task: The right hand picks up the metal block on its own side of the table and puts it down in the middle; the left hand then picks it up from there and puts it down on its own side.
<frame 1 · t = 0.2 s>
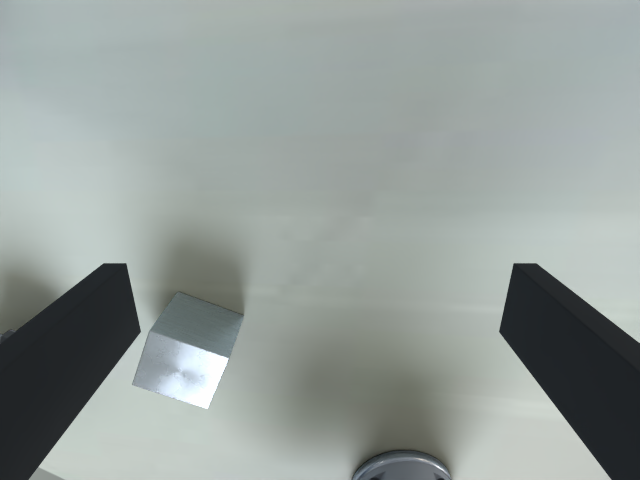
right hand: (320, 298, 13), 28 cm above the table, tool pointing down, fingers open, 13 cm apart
metal block: (202, 327, 46), on the table
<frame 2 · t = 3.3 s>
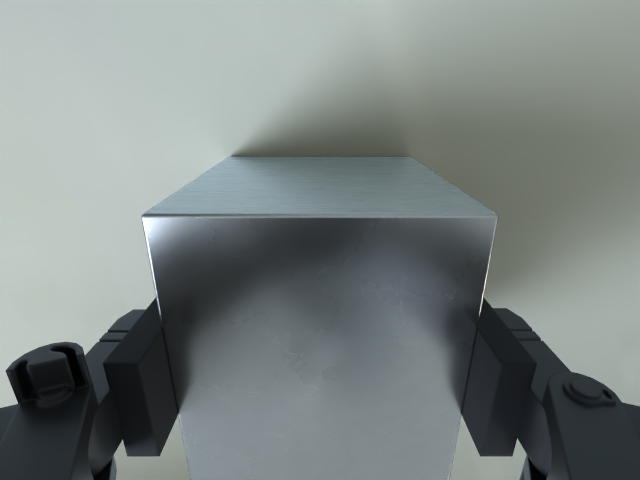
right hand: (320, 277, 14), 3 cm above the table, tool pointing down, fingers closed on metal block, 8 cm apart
metal block: (319, 250, 17), on the table, touching right hand
when the right hand's fingers open (4 cm above the table, at t = 11.9 s): metal block drops 2 cm, on the table.
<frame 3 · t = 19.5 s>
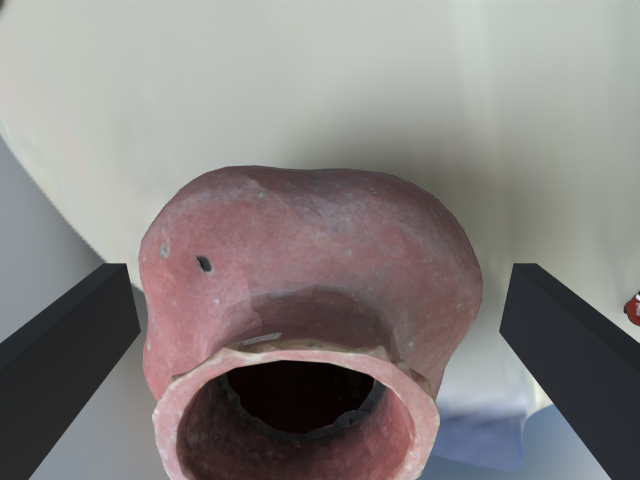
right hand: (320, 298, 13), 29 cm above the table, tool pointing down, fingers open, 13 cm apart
clay pot: (309, 264, 44), on the table
when the left hand's fingers open (4 cm above the table, at t = 28.8 s): metal block drops 2 cm, on the table.
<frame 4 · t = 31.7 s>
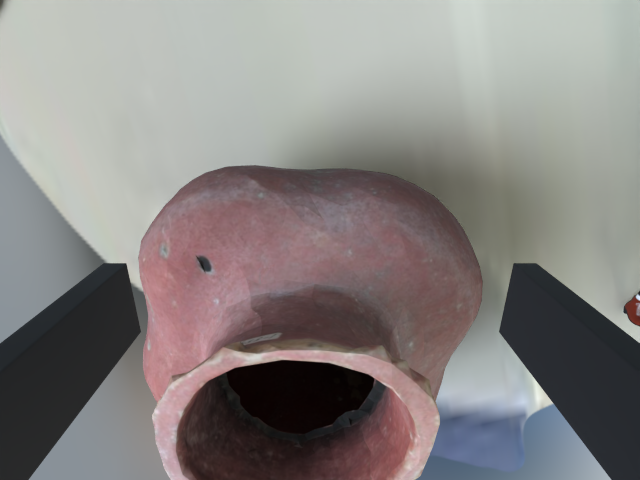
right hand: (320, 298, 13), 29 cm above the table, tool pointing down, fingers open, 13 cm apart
clay pot: (309, 264, 44), on the table
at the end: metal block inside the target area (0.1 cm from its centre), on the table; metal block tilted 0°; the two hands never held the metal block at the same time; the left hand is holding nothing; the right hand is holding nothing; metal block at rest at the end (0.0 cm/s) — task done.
